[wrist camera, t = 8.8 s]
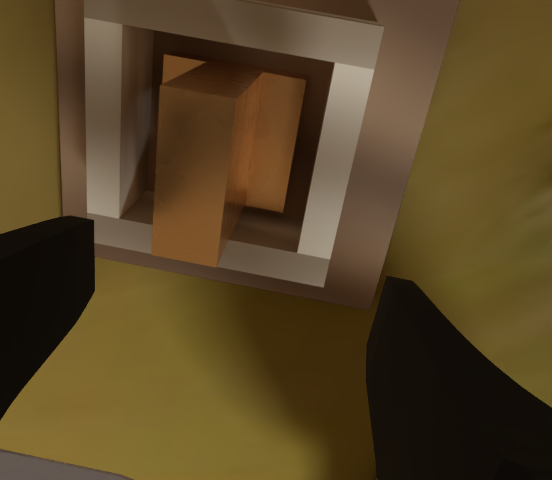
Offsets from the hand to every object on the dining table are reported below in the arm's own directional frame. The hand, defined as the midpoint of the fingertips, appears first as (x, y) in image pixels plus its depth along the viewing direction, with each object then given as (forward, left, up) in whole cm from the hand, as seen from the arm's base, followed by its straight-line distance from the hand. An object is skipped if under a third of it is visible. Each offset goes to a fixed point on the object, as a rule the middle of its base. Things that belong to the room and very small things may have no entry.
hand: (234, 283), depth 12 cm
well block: (+2, +2, -10) cm, 10 cm away
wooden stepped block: (+1, +2, -9) cm, 9 cm away
